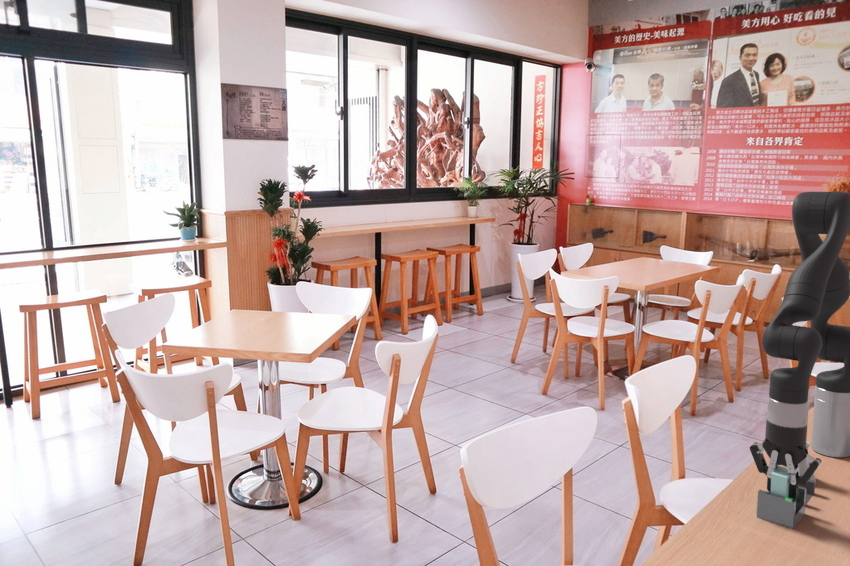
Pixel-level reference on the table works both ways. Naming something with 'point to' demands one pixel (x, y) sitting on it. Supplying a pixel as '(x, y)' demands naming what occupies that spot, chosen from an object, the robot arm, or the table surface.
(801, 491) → the port
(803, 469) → the flask
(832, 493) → the table surface
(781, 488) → the plug
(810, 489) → the grey ridged tray
